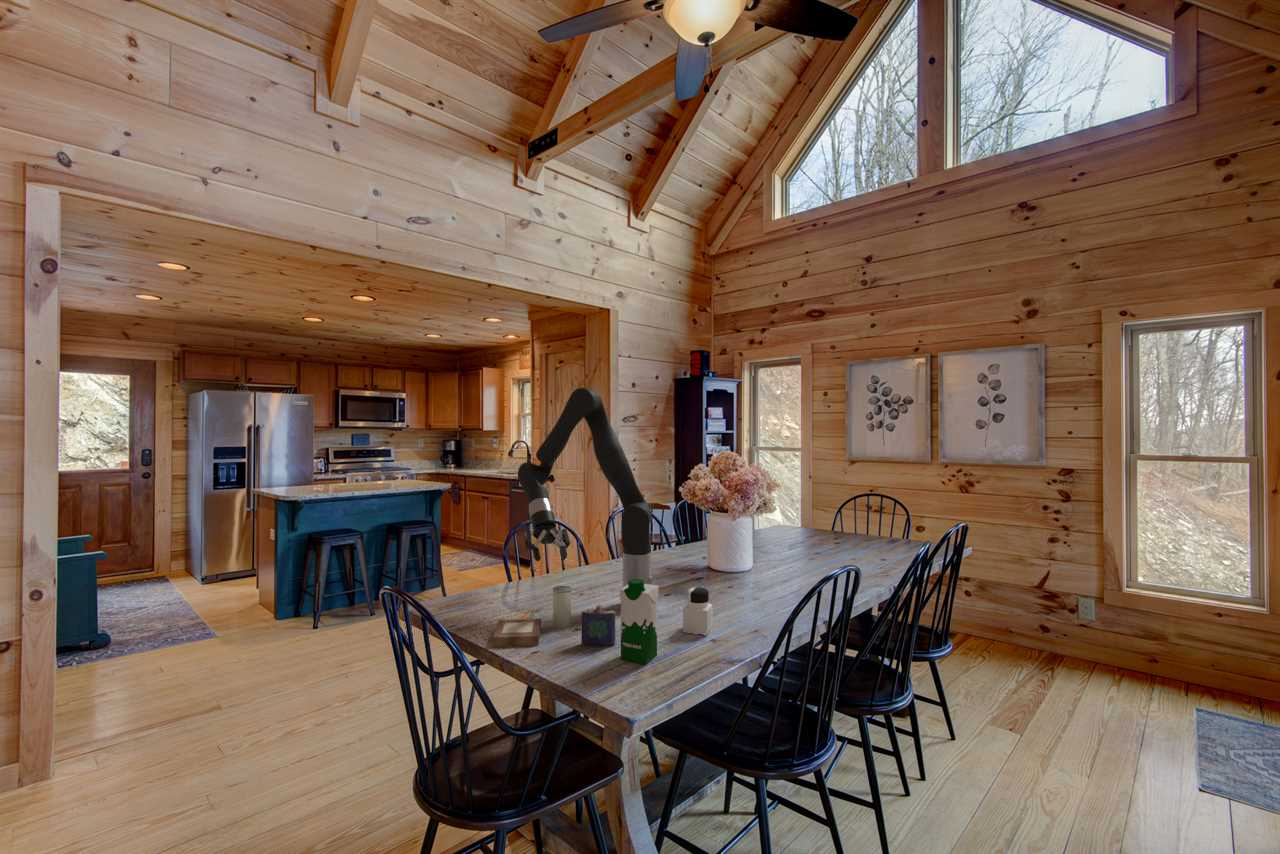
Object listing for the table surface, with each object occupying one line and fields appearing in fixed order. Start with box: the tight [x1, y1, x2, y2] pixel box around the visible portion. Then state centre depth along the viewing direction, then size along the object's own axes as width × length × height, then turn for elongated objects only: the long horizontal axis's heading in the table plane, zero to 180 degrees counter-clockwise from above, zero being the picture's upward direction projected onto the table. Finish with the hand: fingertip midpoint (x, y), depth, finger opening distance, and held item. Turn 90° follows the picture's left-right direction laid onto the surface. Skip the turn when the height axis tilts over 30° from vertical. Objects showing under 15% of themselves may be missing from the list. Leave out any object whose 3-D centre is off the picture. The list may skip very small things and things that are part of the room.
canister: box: [552, 585, 572, 630], centre depth 174 cm, size 5×5×11 cm
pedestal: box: [492, 618, 542, 647], centre depth 165 cm, size 12×14×3 cm
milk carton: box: [619, 579, 660, 666], centre depth 150 cm, size 9×9×20 cm
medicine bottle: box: [682, 586, 713, 636], centre depth 170 cm, size 7×7×12 cm
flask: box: [580, 604, 617, 647], centre depth 159 cm, size 9×3×11 cm, turn 88°
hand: (551, 559), depth 184 cm, fingers open, 8 cm apart
